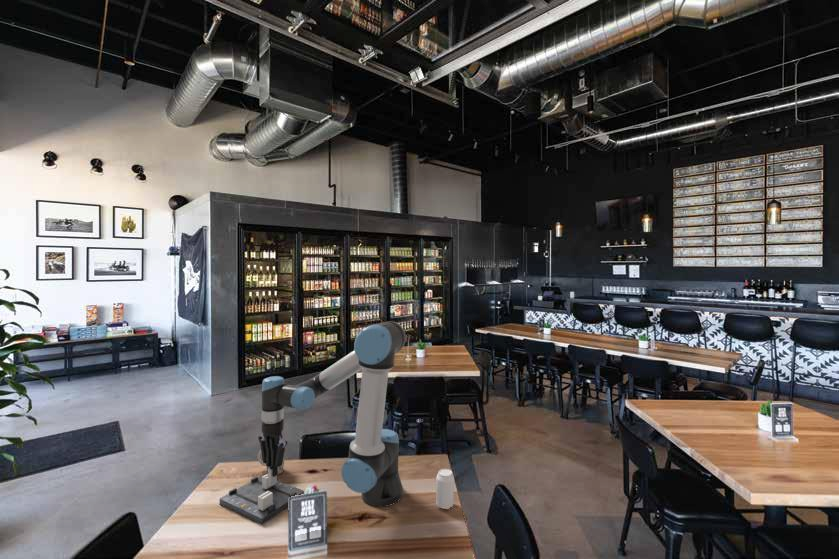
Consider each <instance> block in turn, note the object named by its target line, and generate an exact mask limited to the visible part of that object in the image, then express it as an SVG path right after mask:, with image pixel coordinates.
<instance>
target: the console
mask: <svg viewBox="0 0 839 559" xmlns="http://www.w3.org/2000/svg"><path fill="white" fill-rule="evenodd" d="M264 475H265V474H262V475H260V476H259V477H258V476H255V477H253V478H251V479H250V481H249V482H246V483H245V484H244V485H242V486H239V487H238V488H236V487H234V488H232V489H231V490H229V491H228V493H226V494H225V495H223V496H222V497H219V505H220V506H223V507H224V508H227V509H229V510H230V511H233V512H235V513H237V514H239V515H241V516H243V517H244V518H245V517H246V518H247V519H249V520H251V521H253V522H256V523H257V524H259V525H262V526H263V525H264V524H265V523H267V522H269V520H271V519H274V518H275V517H276V516H277V515H279V514H280V513H282V512H283V511H284V510H287V508H289V507H288V498H289V497H291V496H295V495H301V494H304V495H305V490H304V489H300V488H298V487H295V486H293V485H291V484H287V483H285V482H282V481H280V480H278V479H277V483H275V485H273V486H271V487H270V488H268V489H264V488H262V476H264ZM267 491H270V492H272V493H273V505H271V506H269V507H268V508H266V509H265V510H263V511H262V510H260V509H258V496H260V495H262V494H263V493H265V492H267Z"/></svg>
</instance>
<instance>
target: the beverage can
mask: <svg viewBox="0 0 839 559" xmlns="http://www.w3.org/2000/svg"><path fill="white" fill-rule="evenodd" d="M435 479H436V480H435V484H436V485H435V486H436V488H435V490H436V491H435V501H436V502H435V504H437V505H436V507H437V506H439V507H441V508H450V507H451V506H452V505H453V504H454V505H455V477H454V474H453V471H452V470H451V469H449V468H441V469H439V470H438V472H437V475H436V477H435ZM439 507H438V508H439Z"/></svg>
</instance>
